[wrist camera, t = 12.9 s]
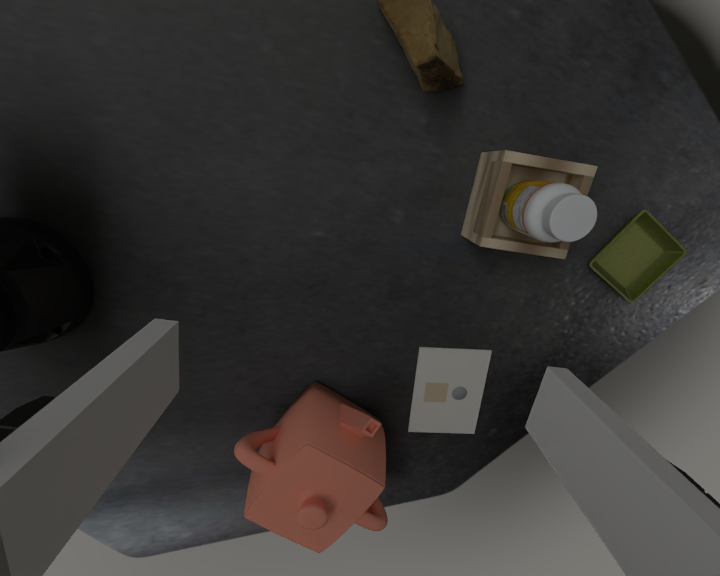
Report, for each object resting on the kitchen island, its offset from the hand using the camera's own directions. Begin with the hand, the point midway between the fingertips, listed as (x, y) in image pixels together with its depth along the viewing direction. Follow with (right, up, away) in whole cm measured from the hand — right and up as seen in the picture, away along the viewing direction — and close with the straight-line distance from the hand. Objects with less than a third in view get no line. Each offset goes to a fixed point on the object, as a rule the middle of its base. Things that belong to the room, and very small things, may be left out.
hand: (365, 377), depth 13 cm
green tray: (+34, +8, +33) cm, 48 cm away
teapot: (-4, -16, +39) cm, 43 cm away
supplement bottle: (+18, +12, +26) cm, 34 cm away
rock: (+6, +29, +24) cm, 38 cm away
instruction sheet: (+12, -12, +38) cm, 42 cm away
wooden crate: (+18, +14, +29) cm, 37 cm away
